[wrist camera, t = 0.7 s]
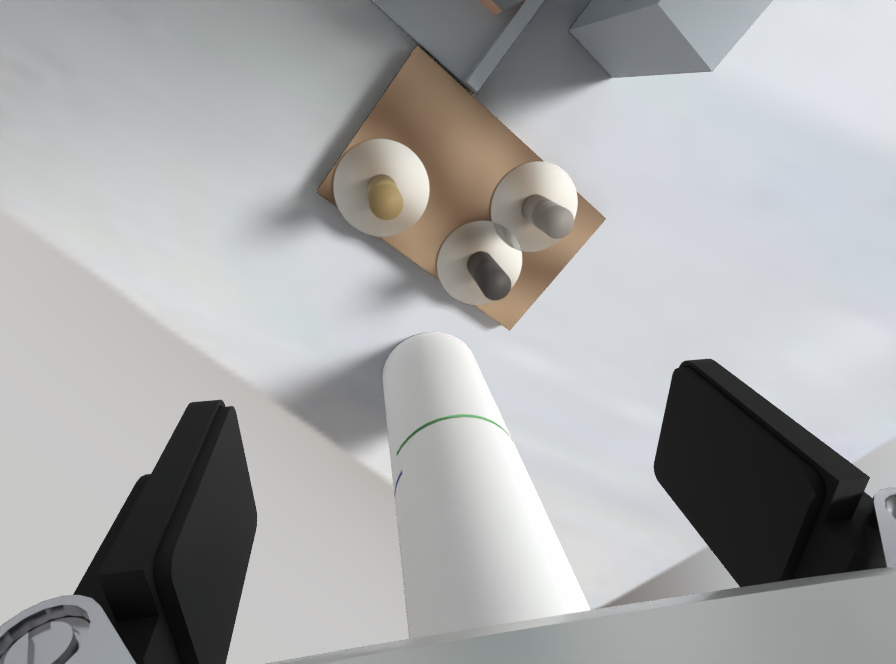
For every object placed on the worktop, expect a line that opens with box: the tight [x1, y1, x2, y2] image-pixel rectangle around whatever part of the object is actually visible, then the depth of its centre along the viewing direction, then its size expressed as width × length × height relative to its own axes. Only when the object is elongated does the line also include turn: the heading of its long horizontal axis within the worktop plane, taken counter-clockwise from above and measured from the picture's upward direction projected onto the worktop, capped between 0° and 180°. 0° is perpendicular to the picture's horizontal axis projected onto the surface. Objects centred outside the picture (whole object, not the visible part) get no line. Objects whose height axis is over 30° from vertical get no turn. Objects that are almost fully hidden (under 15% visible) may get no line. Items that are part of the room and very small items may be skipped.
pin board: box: [317, 46, 606, 331], centre depth 31 cm, size 11×16×6 cm
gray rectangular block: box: [568, 0, 773, 78], centre depth 26 cm, size 5×4×10 cm
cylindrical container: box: [382, 332, 590, 639], centre depth 28 cm, size 7×7×25 cm
